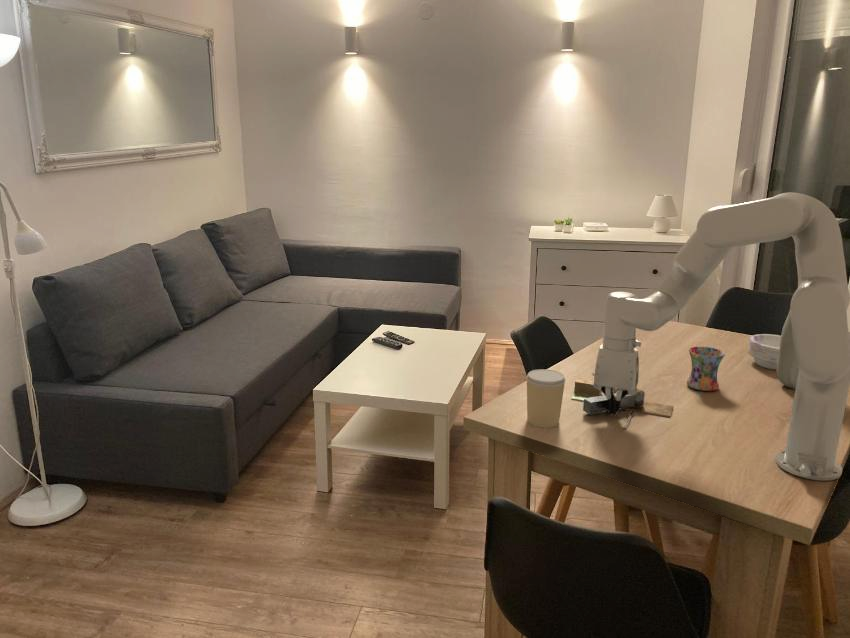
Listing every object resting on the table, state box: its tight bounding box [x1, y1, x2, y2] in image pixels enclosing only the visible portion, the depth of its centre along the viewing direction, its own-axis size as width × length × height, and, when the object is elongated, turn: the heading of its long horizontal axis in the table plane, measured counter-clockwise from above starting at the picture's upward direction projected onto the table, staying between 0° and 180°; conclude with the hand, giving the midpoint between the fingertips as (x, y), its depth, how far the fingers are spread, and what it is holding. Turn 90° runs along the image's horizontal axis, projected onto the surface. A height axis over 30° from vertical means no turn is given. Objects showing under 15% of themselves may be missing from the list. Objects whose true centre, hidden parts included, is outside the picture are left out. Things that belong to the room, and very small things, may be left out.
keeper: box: [570, 378, 603, 402], centre depth 187 cm, size 8×14×3 cm, turn 65°
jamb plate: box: [621, 400, 674, 430], centre depth 175 cm, size 20×12×1 cm, turn 155°
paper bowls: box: [747, 333, 781, 371], centre depth 214 cm, size 15×15×8 cm
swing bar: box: [582, 388, 646, 415], centre depth 179 cm, size 18×4×4 cm, turn 114°
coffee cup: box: [526, 368, 566, 428], centre depth 171 cm, size 9×9×12 cm
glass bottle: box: [776, 310, 799, 390], centre depth 194 cm, size 10×10×28 cm
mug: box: [686, 346, 726, 392], centre depth 196 cm, size 12×9×11 cm
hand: (613, 413), depth 175 cm, fingers closed
